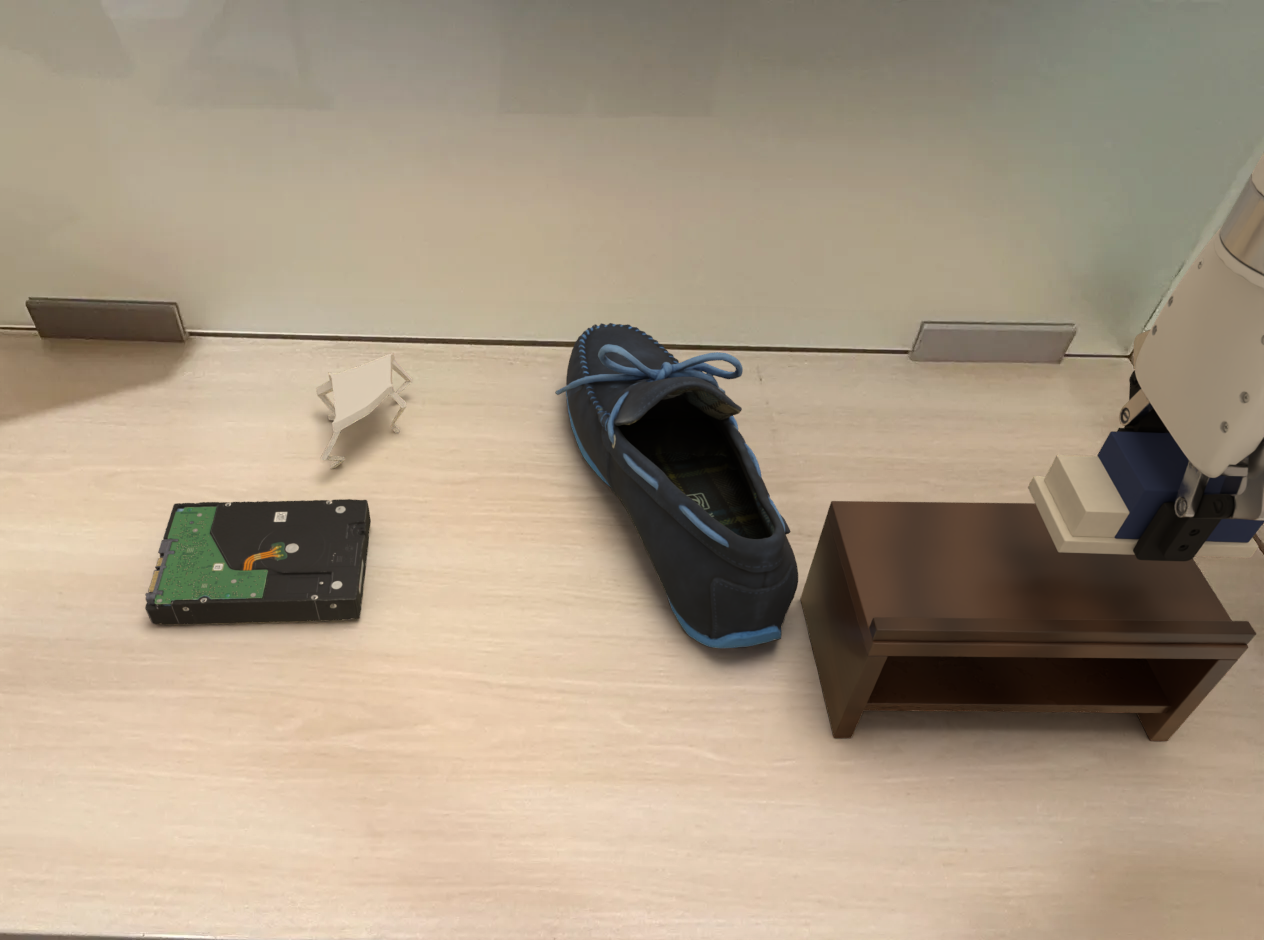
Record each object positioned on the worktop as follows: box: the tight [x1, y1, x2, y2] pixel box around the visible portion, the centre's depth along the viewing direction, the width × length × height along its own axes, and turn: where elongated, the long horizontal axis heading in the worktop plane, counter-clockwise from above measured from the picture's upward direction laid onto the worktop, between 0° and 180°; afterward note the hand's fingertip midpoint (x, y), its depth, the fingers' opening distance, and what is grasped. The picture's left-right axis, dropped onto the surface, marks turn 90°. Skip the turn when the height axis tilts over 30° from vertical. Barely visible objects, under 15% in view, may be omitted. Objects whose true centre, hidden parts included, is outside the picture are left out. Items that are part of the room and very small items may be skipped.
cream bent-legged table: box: [315, 352, 414, 470], centre depth 82 cm, size 12×8×5 cm
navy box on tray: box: [1027, 430, 1264, 559], centre depth 56 cm, size 11×6×5 cm, turn 89°
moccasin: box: [555, 322, 799, 649], centre depth 75 cm, size 14×34×12 cm, turn 21°
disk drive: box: [144, 498, 372, 626], centre depth 72 cm, size 10×3×15 cm
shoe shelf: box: [800, 500, 1257, 742], centre depth 64 cm, size 22×12×11 cm, turn 90°
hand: (1139, 515), depth 57 cm, fingers closed on navy box on tray, 5 cm apart
